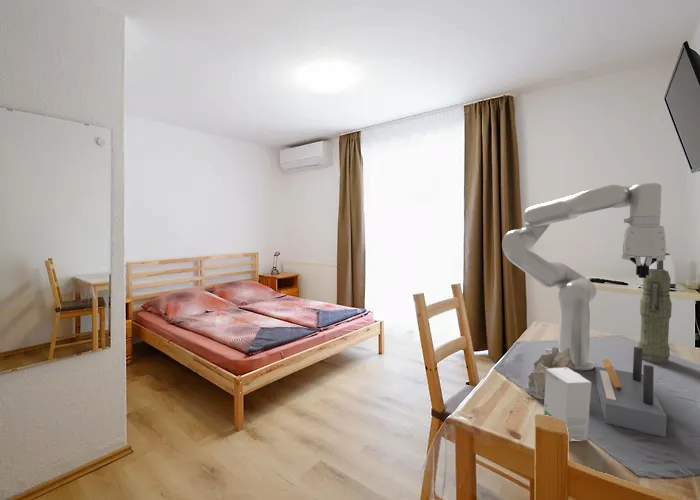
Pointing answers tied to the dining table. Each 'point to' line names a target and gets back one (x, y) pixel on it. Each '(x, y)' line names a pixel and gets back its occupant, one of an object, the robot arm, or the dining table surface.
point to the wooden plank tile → (612, 374)
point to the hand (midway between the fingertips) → (642, 277)
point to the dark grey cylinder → (637, 363)
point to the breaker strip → (629, 404)
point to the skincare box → (568, 400)
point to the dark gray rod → (648, 384)
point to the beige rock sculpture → (539, 375)
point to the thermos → (655, 317)
